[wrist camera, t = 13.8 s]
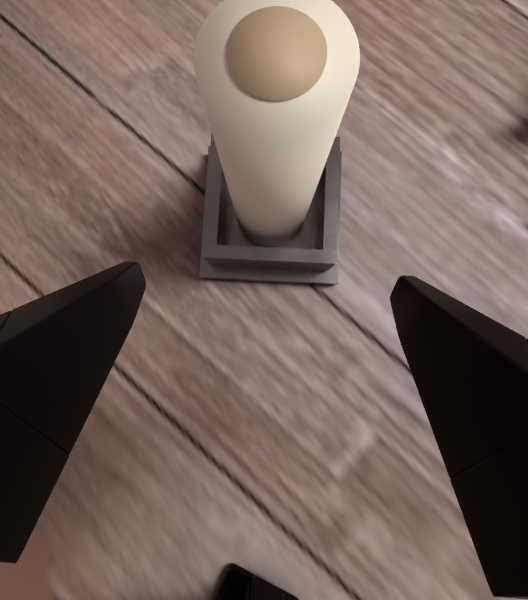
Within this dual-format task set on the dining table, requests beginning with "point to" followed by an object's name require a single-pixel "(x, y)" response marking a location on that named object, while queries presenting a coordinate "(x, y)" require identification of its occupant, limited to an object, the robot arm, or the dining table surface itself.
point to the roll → (275, 103)
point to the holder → (278, 259)
